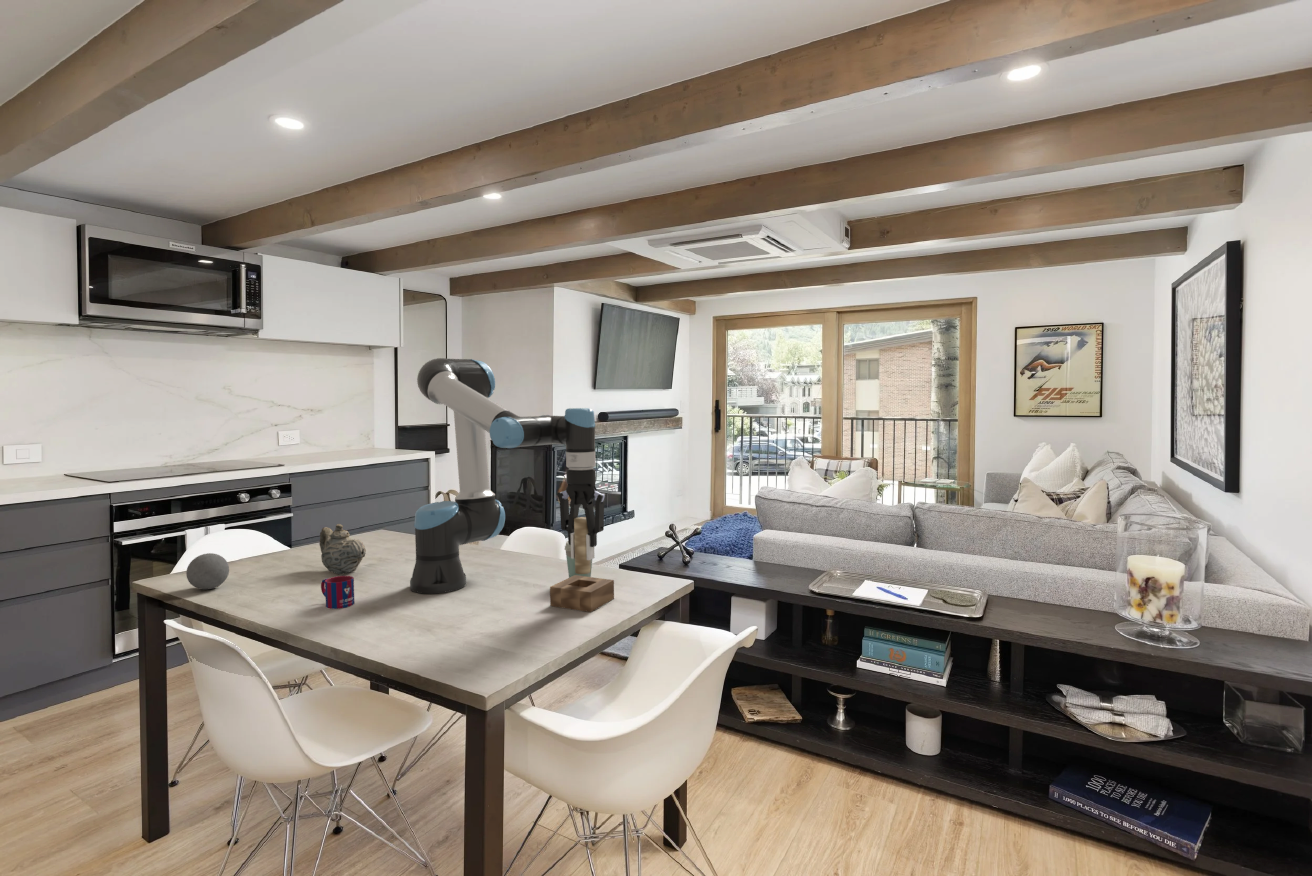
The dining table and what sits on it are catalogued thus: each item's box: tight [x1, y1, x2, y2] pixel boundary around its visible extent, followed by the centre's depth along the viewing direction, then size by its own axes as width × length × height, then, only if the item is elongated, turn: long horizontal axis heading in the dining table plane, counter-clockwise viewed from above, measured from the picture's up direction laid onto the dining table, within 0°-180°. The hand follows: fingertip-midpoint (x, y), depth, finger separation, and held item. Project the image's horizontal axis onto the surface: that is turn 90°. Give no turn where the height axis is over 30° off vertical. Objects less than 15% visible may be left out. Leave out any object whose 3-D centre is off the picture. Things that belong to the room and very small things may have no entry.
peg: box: [574, 516, 592, 574], centre depth 171 cm, size 4×4×14 cm
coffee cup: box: [564, 540, 593, 578], centre depth 189 cm, size 9×9×12 cm
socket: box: [549, 575, 615, 613], centre depth 172 cm, size 12×12×5 cm
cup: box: [320, 575, 355, 610], centre depth 172 cm, size 7×10×7 cm
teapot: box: [318, 523, 367, 575], centre depth 203 cm, size 21×12×15 cm, turn 58°
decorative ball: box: [186, 552, 230, 591], centre depth 186 cm, size 10×10×10 cm
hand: (582, 558), depth 171 cm, fingers closed on peg, 4 cm apart
